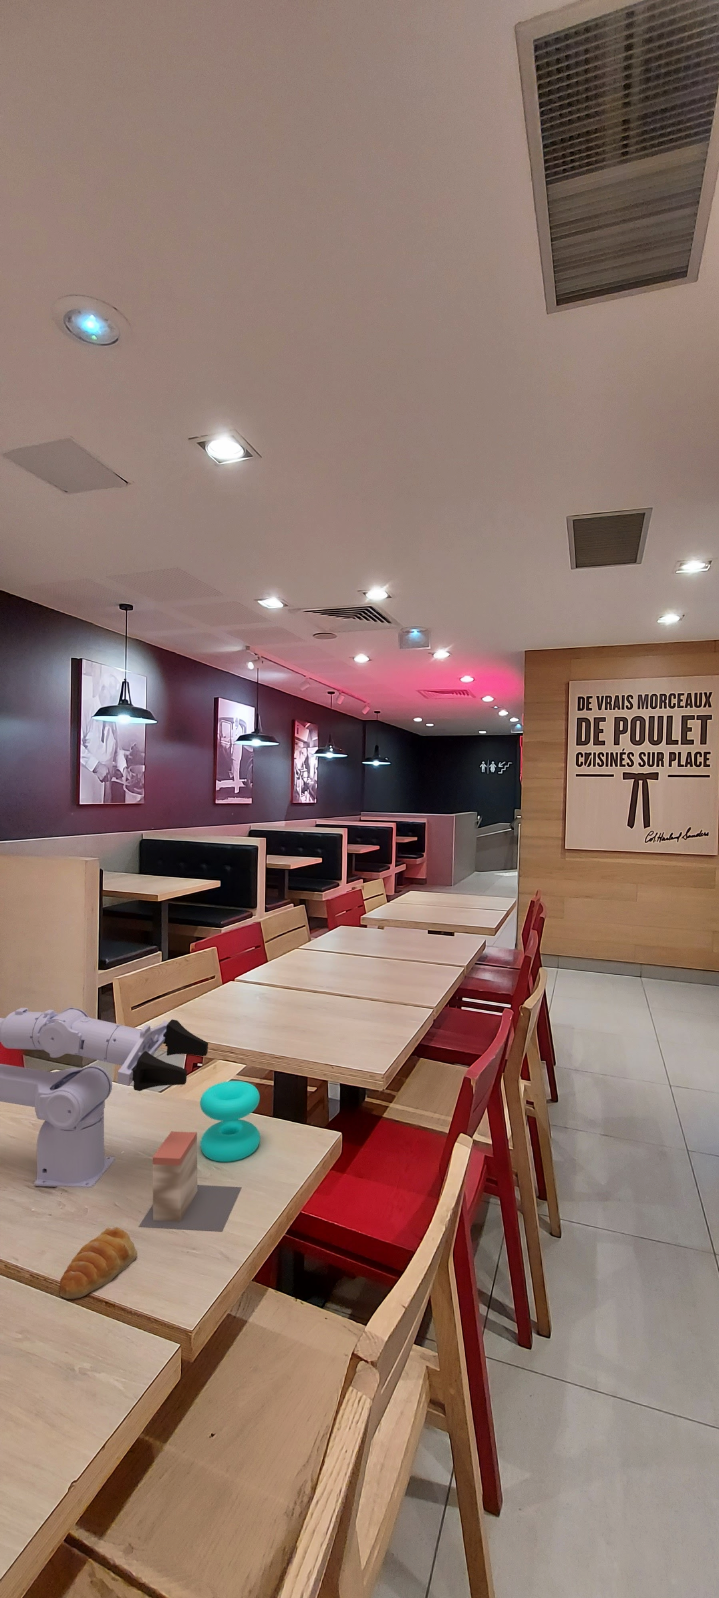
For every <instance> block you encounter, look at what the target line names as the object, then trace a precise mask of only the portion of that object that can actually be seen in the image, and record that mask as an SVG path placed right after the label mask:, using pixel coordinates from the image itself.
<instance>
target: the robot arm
mask: <svg viewBox="0 0 719 1598" xmlns="http://www.w3.org/2000/svg"><path fill="white" fill-rule="evenodd" d="M0 1043H1V1045H2V1046H3V1047H4V1048H6V1049H12V1050H13V1049H16V1050H37V1051H39V1050H40V1051H45V1052H46V1053H48V1054H49V1057H50V1058H60V1057H63V1056H64V1055H66V1054H67V1055H68V1054H69V1055H73V1056H74V1055H77V1056H81V1057H84V1058H88V1059H93V1060H96V1061H100V1062H104V1063H105V1062H106V1063H108V1064H113V1065H118V1066H121V1067H120V1068H119V1069H118V1071H117V1074H116V1075H117V1076H116V1084H119V1085H123V1086H127V1087H129V1086H130V1085H131V1084H132V1083H133V1090H134V1091H137V1092H141V1091H143V1090H146V1089H151V1088H155V1087H161V1086H162V1087H163V1086H164V1087H165V1086H184V1085H186V1083H187V1079H188V1078H187V1077H188V1070H187V1069H185V1068H183V1067H181V1066H179V1065H175V1064H173V1063H169V1062H167V1061H163V1060H161V1059H159V1058H157V1057H155V1056H154V1055H155V1054H156V1051H158V1049H160V1047H162V1045H163V1044H164V1046H165V1047H166V1056H167V1057H168V1056H172V1055H173V1056H174V1055H189V1056H196V1057H197V1056H198V1057H206V1056H207V1055H208V1052H209V1051H208V1050H209V1042H207V1041H206V1040H204V1039H202V1038H200V1037H198V1036H196V1035H194V1033H192V1032H190V1031H189V1030H188V1029H187V1028H185V1027H184V1026H183V1025H182V1024H181V1023H180V1021H179V1020H177V1019H171V1020H169V1021H166V1020H164V1021H163V1022H162V1023H161V1024H159V1025H157V1026H154V1027H151V1026H150V1025H149V1024H146V1025H144V1026H143V1027H142V1028H141V1029H140V1028H136V1027H131V1026H126V1025H123V1024H119V1023H115V1022H109V1021H105V1020H101V1019H97V1018H93V1017H89V1015H88V1014H87V1013H86V1011H84V1010H83V1009H81V1008H77V1007H73V1006H71V1007H68V1008H66V1009H65V1008H64V1010H63V1011H61V1012H60V1013H58V1012H55V1010H54V1009H48V1010H45V1011H29V1008H28V1007H19V1008H18V1009H16V1010H15V1011H12V1012H10V1013H9V1014H7V1015H6V1017H4V1018H3V1017H0ZM112 1090H113V1081H112V1078H111V1076H110V1074H109V1073H108V1071H107V1070H106V1069H105V1068H103V1067H101V1066H99V1065H94V1064H93V1065H92V1064H91V1065H89V1066H88V1065H87V1066H86V1067H85V1066H84V1067H82V1068H81V1067H80V1068H78V1067H77V1068H76V1067H71V1068H66V1069H62V1070H58V1071H48V1070H42V1069H35V1068H28V1067H23V1066H16V1065H11V1064H10V1065H9V1064H3V1063H0V1102H1V1103H7V1104H13V1105H18V1106H25V1107H31V1108H34V1112H35V1115H36V1116H35V1117H36V1118H37V1120H42V1121H44V1122H43V1123H42V1124H41V1126H40V1128H39V1131H38V1135H37V1140H36V1168H37V1169H36V1175H37V1176H36V1178H37V1179H36V1180H35V1181H34V1186H35V1187H36V1186H37V1187H50V1188H51V1187H53V1188H54V1187H56V1188H57V1187H67V1188H68V1187H69V1188H87V1189H89V1188H93V1187H94V1186H95V1185H96V1184H97V1182H99V1180H100V1178H101V1177H102V1176H103V1175H104V1174H105V1172H106V1171H107V1170H108V1169H109V1167H110V1166H112V1164H113V1163H114V1161H115V1160H116V1158H115V1157H114V1156H105V1114H104V1113H105V1108H106V1100H107V1099H108V1098H109V1097H110V1095H111V1093H112Z"/></svg>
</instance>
